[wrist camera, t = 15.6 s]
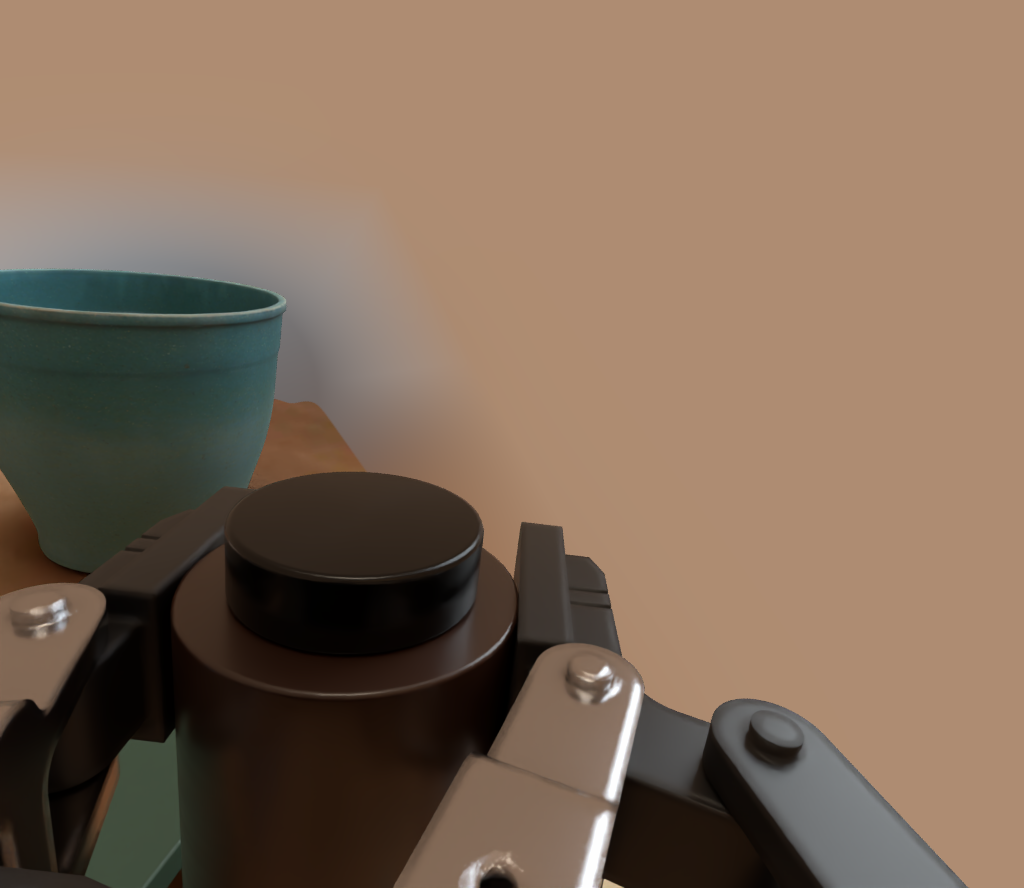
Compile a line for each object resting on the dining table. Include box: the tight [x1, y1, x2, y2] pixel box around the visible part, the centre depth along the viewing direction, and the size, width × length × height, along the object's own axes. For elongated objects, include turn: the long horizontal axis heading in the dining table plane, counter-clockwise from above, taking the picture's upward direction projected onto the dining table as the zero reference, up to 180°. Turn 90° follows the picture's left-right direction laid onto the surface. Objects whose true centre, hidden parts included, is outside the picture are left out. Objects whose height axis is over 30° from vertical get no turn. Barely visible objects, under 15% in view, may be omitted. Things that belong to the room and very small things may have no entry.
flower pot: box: [0, 269, 286, 573], centre depth 42 cm, size 18×18×17 cm
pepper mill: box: [170, 472, 519, 888], centre depth 10 cm, size 4×4×8 cm
